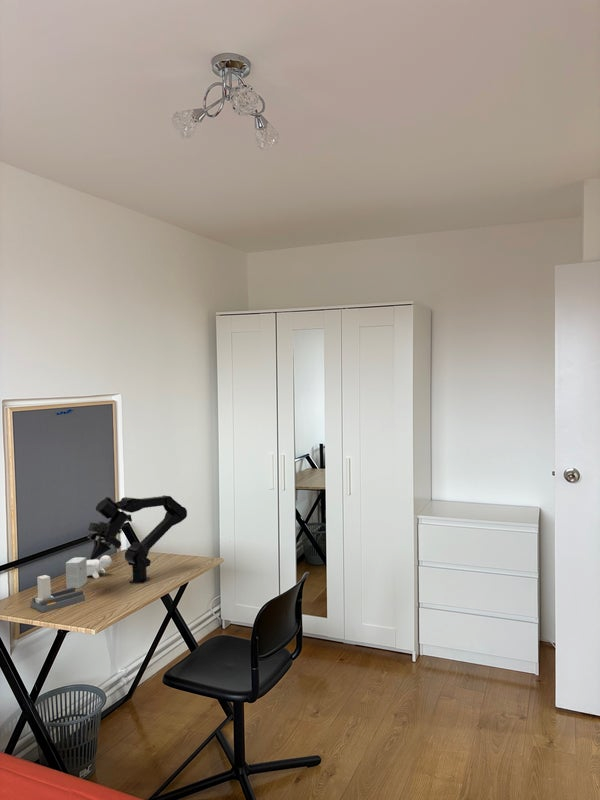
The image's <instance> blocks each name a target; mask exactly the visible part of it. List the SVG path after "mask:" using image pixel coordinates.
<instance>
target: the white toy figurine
mask: <svg viewBox="0 0 600 800" xmlns="http://www.w3.org/2000/svg"><path fill="white" fill-rule="evenodd" d="M86 561H87V577H90V576H91V577H93V578H94V579H96V580H97V579H99V578H100V575H99V573H100V574H106V570H105V569H104V568H107V567H110V566H111V564H112V558H111V556H109V555H102V556H101V557H100V558H95V559H94V560H91V559H86Z"/></svg>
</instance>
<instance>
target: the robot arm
mask: <svg viewBox="0 0 600 800" xmlns="http://www.w3.org/2000/svg"><path fill="white" fill-rule="evenodd" d="M152 507H153V508H154V507H163V509H164V510H165V514H164V518H163V519H162V520H161V521H160V522H159V523H158V524H157V525H156V526H155V527H154V528H153V529H152V530H151V531H150V532H149V533H148V534H147V535H146V536H145V537H144V538H143V539H142V540H141V541H140V542H137V541H136V542H135V541H133V542H132V543H131V544H130V545H129V547H127V548H126V551H125V552H124V559H125V561H126V562H127V564H128V566H131V568H132V569H131V571H132V575H131V577H132V579H130V580H129V583H138V584H139V583H141V584H142V583H145V582H147V581H148V580H150V578H151V577H150V576H147V573H148V571H147V568H148V567H150V566H151V562H152V561H151V559H149V558H148V555H149V552H150V550H151V548H153V546H155V545H156V544H157V542H158V541H159V540H160V539H161V538H162V537H164V535H165V534H166V533H167V532H168V531H169V530H170V529H171V528H172V527H173V526H175V525H178V524H179V523H181V522H183V521H184V520H185V519H186V518H187V516H188V510H187V508H186V507H185V506H183V505H181V504H180V503H178V502H177V500H175V499H174V498H173V497H172V496H170V495H161V496H159V495H158V496H153V497H143V498H136V497H127V496H125V497H122V498H121V499H120V500H119V501H116V502H115V501H113V500H112V498H111V497H108V496H106V497H105V498H104V499H103V500H101V501H100V502H98V503H97V505H96V506H95V510H96V512H98V513H99V514H100V515H102V517H104V519H106V520H107V519H109V520H108V522H103V521H99V522H98V523H96V522H89V525H88V529H87V531H88V532H89V531H90V533H89V534H88V535H87V537H86V538H87V539H89V540H90V541H91V542H93V549H92V552H91V555H90V557H89V560H94V559H98V557H100V556H101V555H103V554H104V553H106V552H108V551H110V550H111V549H112V548H111V546H113V547H114V549H116V550H119V549H120V548H121V546H122V541H120V540H119V539H118V538H117V536H118V535H119V534H121V533H122V530H121V529H122V527H123V526H124V525H125V524H126V522H130V523H132V521H133V519H132V513H136V512H138V511H139V512H140V511H141V510H143V509H147V508H152ZM128 513H131V514H128Z"/></svg>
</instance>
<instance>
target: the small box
mask: <svg viewBox="0 0 600 800" xmlns="http://www.w3.org/2000/svg"><path fill="white" fill-rule="evenodd" d="M86 560H87V557H73V558H71V559H69V560H68V561H67V562H65V582H66V584H65V585H66V586H65V587H66V589H67V588H71V587H75V589H81V588H82V587H83V586H84V585H85V584H86V583H88V576H87V561H86Z"/></svg>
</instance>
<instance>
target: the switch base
mask: <svg viewBox="0 0 600 800" xmlns="http://www.w3.org/2000/svg"><path fill="white" fill-rule="evenodd" d="M51 596H53V598H50V599H46V600H42V601H39V604H38V603H36V602H35V598H38V595H37V596H34V597H31V601H30V608H33V609H35V610H37V611H39V612H41V613H47V612H49V611H53V610H57V609H60V608H64V607H67V606H71V605H74V604H77V603H81V602H85V600H86V596H85V594H84V590H83V589H79V590H76V588H75V587H71V588H67V587H66V588H64V589H59V590H57V591H53V592H52V591H51Z"/></svg>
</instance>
